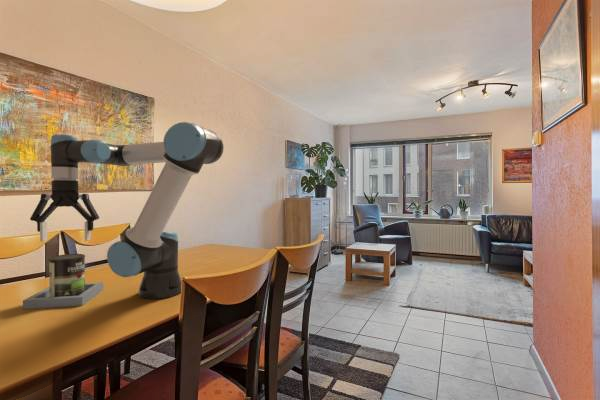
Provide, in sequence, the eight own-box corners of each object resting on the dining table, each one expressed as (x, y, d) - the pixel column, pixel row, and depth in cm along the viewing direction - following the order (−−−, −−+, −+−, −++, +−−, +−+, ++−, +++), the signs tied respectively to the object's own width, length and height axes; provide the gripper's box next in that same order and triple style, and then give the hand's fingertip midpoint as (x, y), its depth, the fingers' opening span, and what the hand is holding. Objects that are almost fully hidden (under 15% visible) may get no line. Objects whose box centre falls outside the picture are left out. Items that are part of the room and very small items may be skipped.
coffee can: (92, 292, 114) (92, 254, 114) (66, 302, 104) (65, 260, 104) (69, 290, 116) (68, 252, 116) (41, 300, 106) (40, 258, 106)
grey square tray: (103, 289, 120) (103, 282, 120) (82, 305, 104) (82, 297, 104) (53, 292, 117) (52, 284, 117) (22, 309, 100) (22, 300, 100)
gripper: (108, 180, 115) (109, 237, 116) (30, 179, 110) (31, 239, 111) (100, 179, 108) (101, 241, 109) (16, 179, 103) (17, 243, 103)
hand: (66, 240), depth 110 cm, fingers open, 13 cm apart
